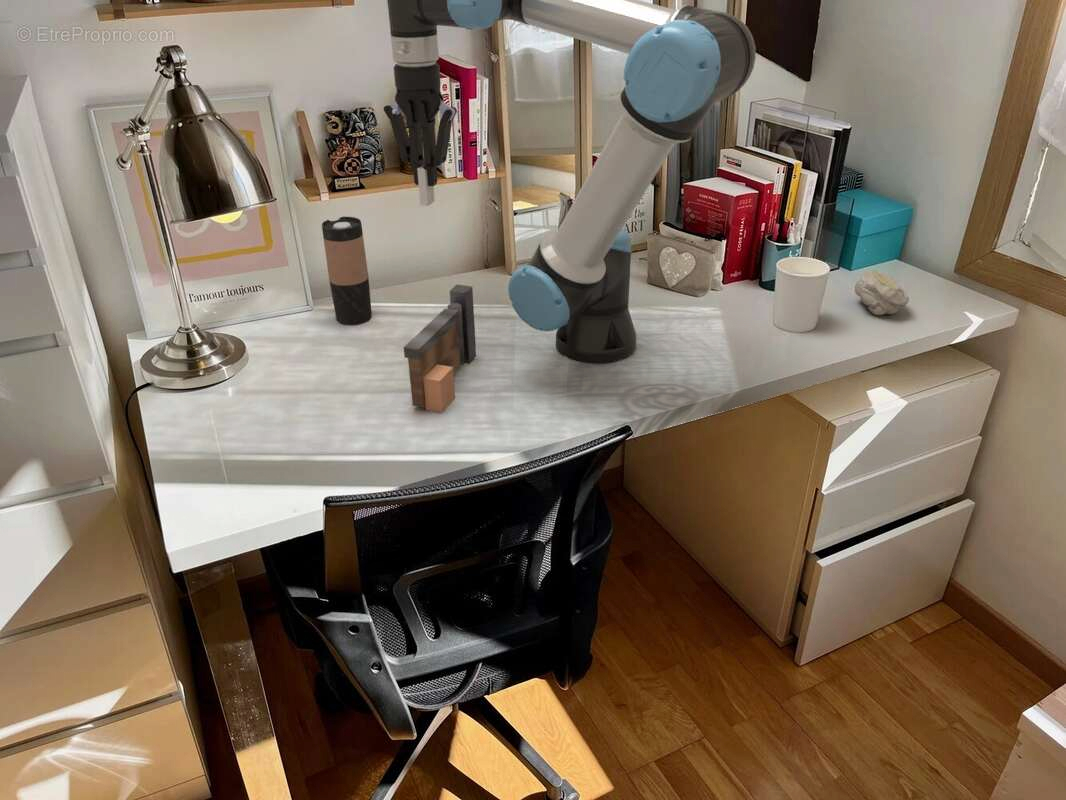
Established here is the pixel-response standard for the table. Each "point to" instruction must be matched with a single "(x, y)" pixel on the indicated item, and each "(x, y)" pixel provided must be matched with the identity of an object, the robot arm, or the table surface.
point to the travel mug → (347, 270)
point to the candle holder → (799, 293)
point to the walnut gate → (435, 349)
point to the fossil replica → (880, 293)
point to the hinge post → (466, 318)
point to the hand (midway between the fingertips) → (427, 203)
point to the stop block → (439, 388)
